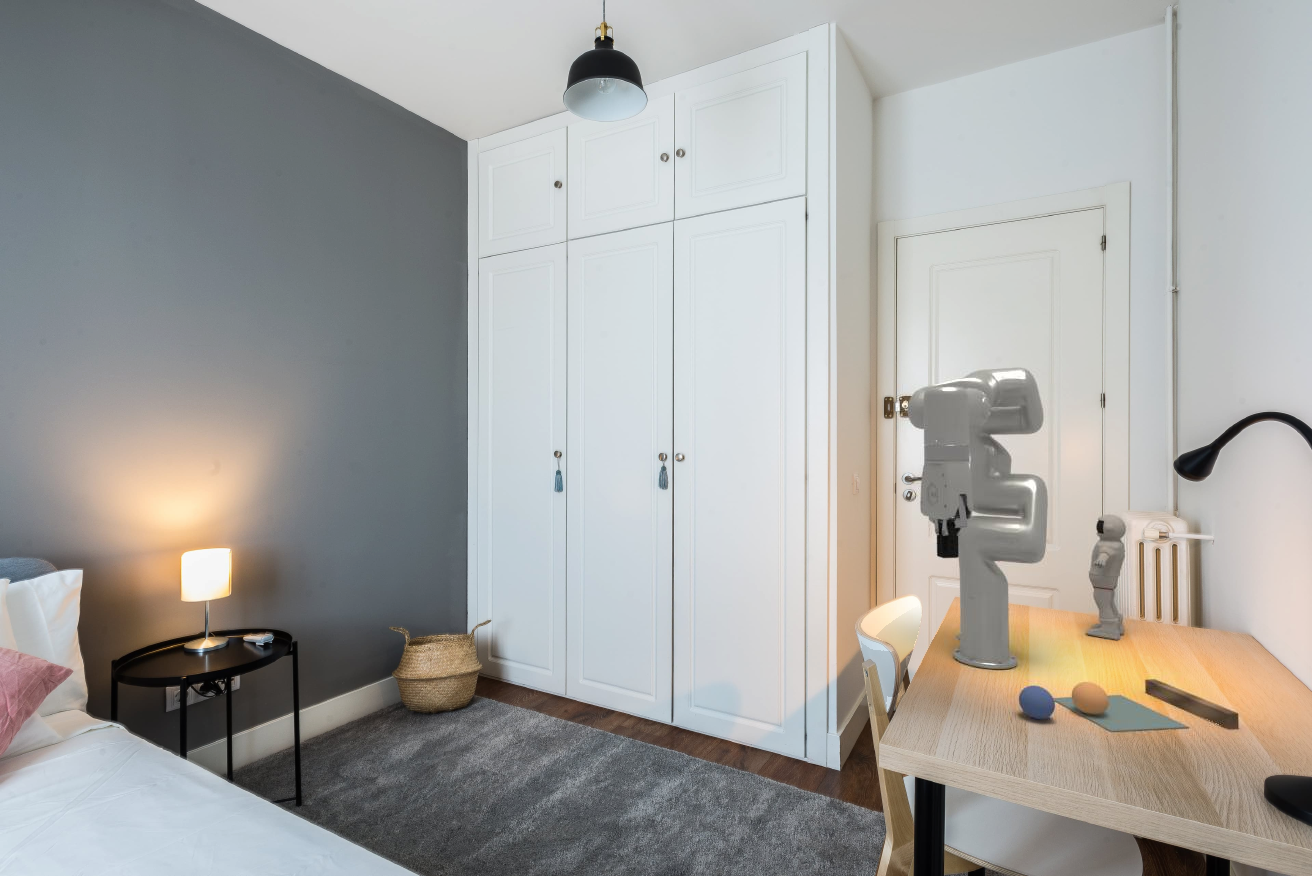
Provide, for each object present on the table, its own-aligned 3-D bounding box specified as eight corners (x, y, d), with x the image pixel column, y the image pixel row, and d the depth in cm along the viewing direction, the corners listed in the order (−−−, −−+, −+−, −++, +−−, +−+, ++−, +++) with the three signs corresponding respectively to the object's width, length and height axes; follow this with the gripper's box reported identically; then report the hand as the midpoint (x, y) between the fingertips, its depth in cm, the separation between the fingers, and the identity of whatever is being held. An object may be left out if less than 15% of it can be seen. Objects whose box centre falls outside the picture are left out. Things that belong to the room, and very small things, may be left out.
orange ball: (1068, 674, 116) (1095, 682, 116) (1060, 703, 116) (1087, 711, 116) (1092, 684, 110) (1120, 693, 111) (1084, 715, 110) (1111, 723, 111)
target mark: (1050, 699, 120) (1050, 698, 120) (1120, 696, 121) (1120, 694, 121) (1111, 732, 106) (1111, 730, 106) (1189, 728, 107) (1189, 726, 107)
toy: (1099, 620, 174) (1098, 509, 175) (1137, 626, 169) (1135, 511, 169) (1074, 644, 153) (1073, 517, 154) (1116, 651, 148) (1114, 520, 148)
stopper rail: (1145, 692, 123) (1145, 679, 123) (1155, 692, 123) (1154, 679, 123) (1227, 729, 107) (1227, 713, 107) (1238, 728, 107) (1238, 713, 107)
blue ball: (1038, 677, 114) (1045, 706, 114) (1009, 684, 114) (1016, 713, 114) (1058, 689, 109) (1065, 720, 109) (1027, 697, 109) (1034, 728, 109)
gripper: (906, 455, 124) (907, 551, 123) (949, 456, 109) (950, 565, 109) (943, 455, 124) (945, 550, 124) (991, 455, 110) (992, 564, 109)
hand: (947, 557), depth 116 cm, fingers closed
